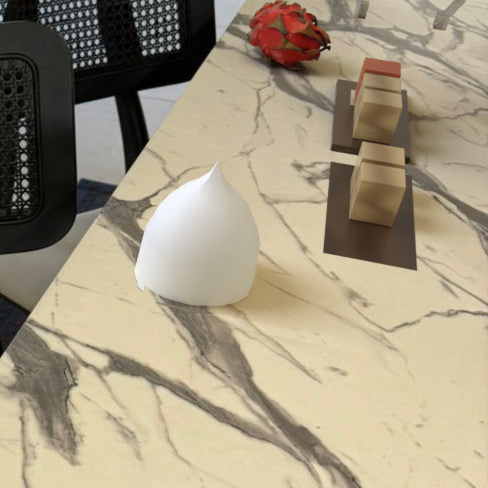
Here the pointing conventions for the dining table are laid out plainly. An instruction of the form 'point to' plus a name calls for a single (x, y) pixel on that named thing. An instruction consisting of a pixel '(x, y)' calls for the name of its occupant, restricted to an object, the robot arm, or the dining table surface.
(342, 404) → the dining table surface
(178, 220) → the teardrop
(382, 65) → the rust red cube
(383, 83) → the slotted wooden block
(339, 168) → the grooved block on base
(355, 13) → the robot arm
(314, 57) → the dragon fruit
